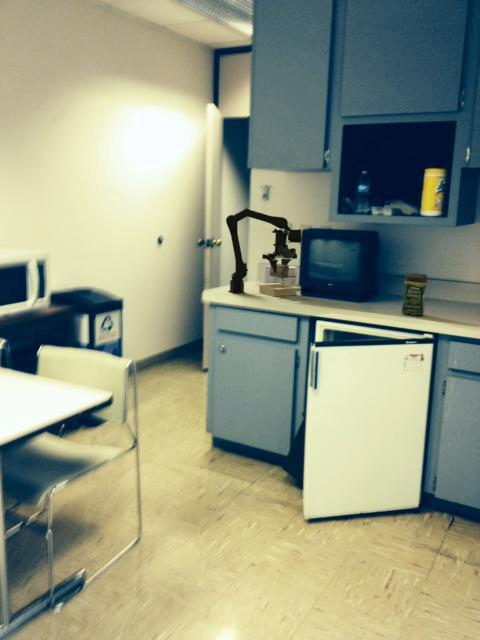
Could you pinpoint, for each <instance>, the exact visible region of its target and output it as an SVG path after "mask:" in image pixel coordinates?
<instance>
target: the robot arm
mask: <svg viewBox="0 0 480 640" xmlns="http://www.w3.org/2000/svg"><path fill="white" fill-rule="evenodd" d="M247 217H248V218H251V219H255V220H258V221H261V222H265V223H268V224H271V225H272V226H274V229H273V230H272V231H271V233H273V234H275V236H274V237H275V238H274V243H273V244H272V245H273V247H274V251H272V252H264V253H263V254H262V255H261V257H262V258H261V259H263V260H267V261H268V262H269V264H271V266H272V269H273V271H274V273H276V267H277V264H278V262H279V259H280V258H281V259H280V260H281V263H280V264H281V265H288V264H289V263H290V262H291V261H293V260H294V259H295V260H296V259H297V260H298V254H297V249H296V248H294V247H293V248H291V247H290V248H289V245H288V244H287V241H289V243H295V244H300V243H302V229H301V228H299V229H291V227H290V226H289V225H288V223H289V221H288V219H287V218H286V217H283V216H277V215H276V216H275V215H274V216H273V215H269V214H265V213H262V212H258V211H256V210H252V209H249V208H248V207H247V208H246V207H245V208H244V209H243V210H241V211H239V212H237V213H235V214H229V215H227V216H226V219H225V223H226V226H227V228H228V232H229V233H230V238H231V243H232V247H233V254H234V255H233V256H234V259H235V260H234V261H235V263H234V264H235V268H234V269H235V271H234V272H233V273H232V274H231V279H230V280H229V290H228V291H227V292H229V293H233V294H242V293H243V294H245V293H246V291H245V283H244V281H245V280H244V278H246V276H247V274H248V272H249V270H248V269H249V268H248V264H247V261H246V262H245V261H244V260H243V256H242V251H241V245H240V240H239V239H240V238H239V234H238V227H239V226H238V222H240V221H242V220H243V219H245V218H247ZM277 228H278V229H277ZM284 230H285V231H284ZM288 266H289V265H288Z"/></svg>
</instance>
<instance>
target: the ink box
mask: <svg viewBox="0 0 480 640" xmlns="http://www.w3.org/2000/svg"><path fill="white" fill-rule="evenodd" d="M288 266H289V274H288V278H280V283H282V284H286V285H291V286H295V287H297V277H298V267H297V266H292V265H291V266H290V265H288Z"/></svg>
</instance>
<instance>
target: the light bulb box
mask: <svg viewBox="0 0 480 640" xmlns="http://www.w3.org/2000/svg"><path fill="white" fill-rule="evenodd" d="M264 270H265V271H264V284H270V283H280V278H278V277H273V276H270V265H265V269H264Z"/></svg>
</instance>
